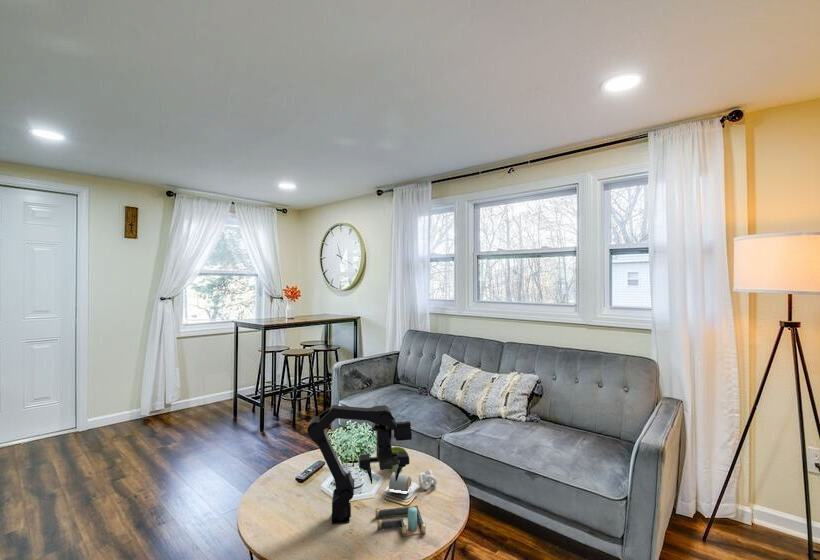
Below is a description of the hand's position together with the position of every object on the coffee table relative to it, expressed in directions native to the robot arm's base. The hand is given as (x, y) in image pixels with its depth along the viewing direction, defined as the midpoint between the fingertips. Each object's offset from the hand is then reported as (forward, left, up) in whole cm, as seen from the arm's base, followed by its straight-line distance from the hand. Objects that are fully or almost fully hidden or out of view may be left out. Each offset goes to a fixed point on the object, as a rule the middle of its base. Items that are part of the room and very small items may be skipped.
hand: (383, 482), depth 146 cm
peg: (+9, -10, -12) cm, 18 cm away
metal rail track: (+5, -7, -12) cm, 15 cm away
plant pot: (+10, +33, -13) cm, 37 cm away
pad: (+9, -10, -12) cm, 19 cm away
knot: (+21, +17, -13) cm, 30 cm away
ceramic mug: (+9, +15, -13) cm, 22 cm away
